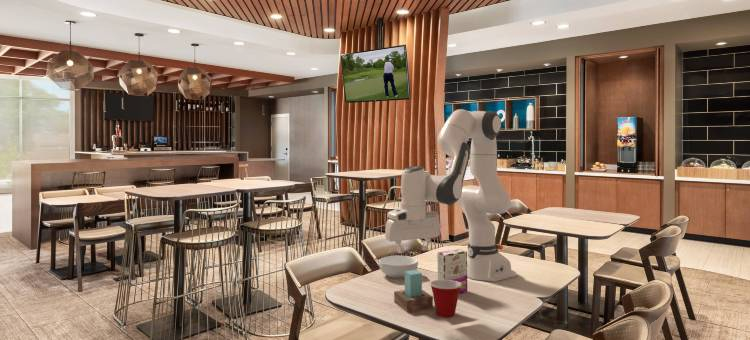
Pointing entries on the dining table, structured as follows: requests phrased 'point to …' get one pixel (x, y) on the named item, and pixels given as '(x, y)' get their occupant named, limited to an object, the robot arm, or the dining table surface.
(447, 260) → the candy bar box
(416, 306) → the pocket block
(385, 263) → the cereal bowl
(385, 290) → the dining table surface
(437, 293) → the plastic cup
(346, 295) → the dining table surface
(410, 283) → the teal peg
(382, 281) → the dining table surface
